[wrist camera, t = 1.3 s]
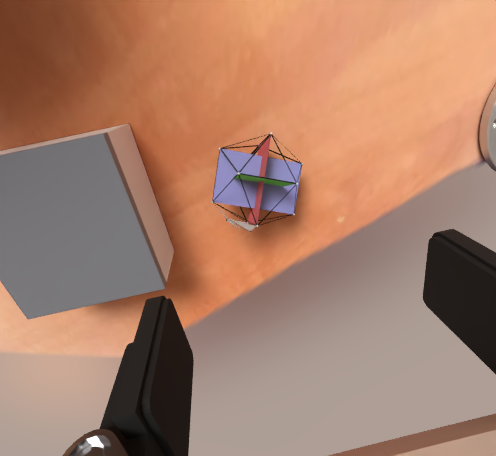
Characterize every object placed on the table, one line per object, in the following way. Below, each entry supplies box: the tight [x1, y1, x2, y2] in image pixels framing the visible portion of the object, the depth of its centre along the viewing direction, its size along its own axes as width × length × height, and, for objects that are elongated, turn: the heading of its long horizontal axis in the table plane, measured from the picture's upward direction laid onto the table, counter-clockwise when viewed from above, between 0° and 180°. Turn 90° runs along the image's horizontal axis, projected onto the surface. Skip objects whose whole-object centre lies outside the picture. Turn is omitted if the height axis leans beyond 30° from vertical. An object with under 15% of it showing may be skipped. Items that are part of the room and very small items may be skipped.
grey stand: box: [0, 124, 174, 319], centre depth 23 cm, size 11×12×6 cm
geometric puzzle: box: [212, 133, 303, 232], centre depth 23 cm, size 7×7×8 cm
